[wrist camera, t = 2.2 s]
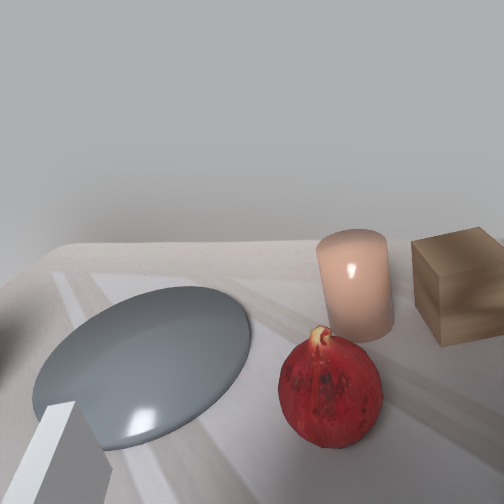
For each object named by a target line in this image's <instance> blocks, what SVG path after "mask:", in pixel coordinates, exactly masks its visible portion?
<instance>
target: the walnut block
mask: <svg viewBox="0 0 504 504" xmlns="http://www.w3.org/2000/svg"><path fill="white" fill-rule="evenodd" d="M411 248H412V263H413V279H414V295H415V307H416V308H417V310H418V311H419V313H420V314H421V316H422V318H423V319H424V321H425V322H426V324H427V326H428V327H429V329H430V330H431V332H432V333H433V335H434V337H435V338H436V340H437V341H438V343H439V344H440V346H441V347H444V346H449V345H454V344H459V343H464V342H469V341H474V340H479V339H484V338H489V337H494V336H499V335H504V247H503V246H502V245H500V244H499V243H498V242H497V241H496V240H494V239H493V238H492V237H491V236H490V235H488V234H487V233H486V232H485V231H484V230H483V229H482V228H480V227H476V228H471V229H467V230H462V231H457V232H453V233H448V234H444V235H439V236H434V237H430V238H425V239H420V240H416V241H411Z"/></svg>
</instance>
